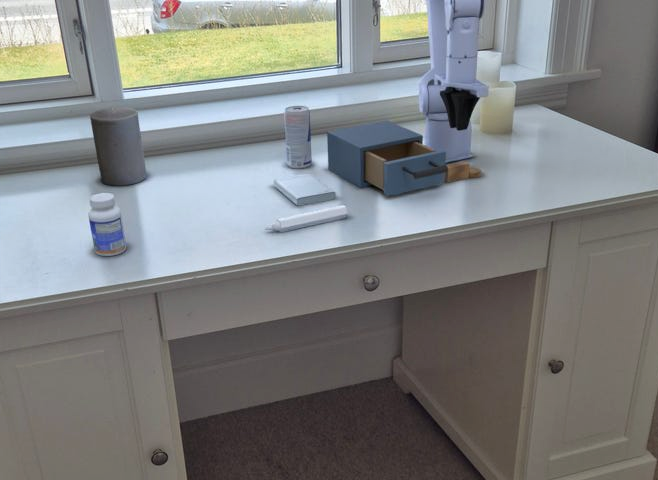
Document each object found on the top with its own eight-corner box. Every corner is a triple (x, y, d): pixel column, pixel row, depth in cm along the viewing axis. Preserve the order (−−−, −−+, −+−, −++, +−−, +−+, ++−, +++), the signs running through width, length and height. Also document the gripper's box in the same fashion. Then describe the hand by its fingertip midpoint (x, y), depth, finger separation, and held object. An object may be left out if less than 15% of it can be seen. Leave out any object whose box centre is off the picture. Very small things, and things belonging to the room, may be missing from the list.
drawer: (460, 190, 159) (462, 158, 156) (402, 204, 154) (402, 171, 151) (409, 166, 173) (410, 136, 169) (354, 178, 167) (353, 147, 164)
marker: (264, 237, 147) (344, 219, 152) (268, 235, 145) (348, 216, 151) (260, 223, 147) (340, 205, 152) (264, 221, 145) (345, 202, 150)
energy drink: (313, 160, 181) (310, 105, 174) (310, 168, 176) (308, 112, 170) (288, 161, 181) (285, 105, 175) (285, 168, 177) (282, 112, 170)
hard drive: (335, 191, 159) (310, 172, 169) (296, 198, 157) (273, 178, 166) (336, 199, 160) (311, 180, 170) (296, 206, 158) (273, 186, 167)
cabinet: (421, 174, 171) (422, 135, 166) (360, 187, 165) (360, 147, 161) (386, 157, 181) (387, 120, 177) (328, 169, 175) (327, 131, 171)
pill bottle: (97, 245, 145) (87, 192, 140) (128, 243, 145) (119, 190, 140) (92, 258, 140) (82, 203, 135) (125, 255, 140) (115, 201, 135)
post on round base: (449, 183, 165) (450, 169, 164) (439, 179, 168) (440, 164, 166) (484, 175, 168) (485, 161, 167) (474, 171, 171) (475, 157, 169)
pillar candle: (91, 183, 173) (78, 111, 165) (118, 169, 181) (106, 99, 173) (131, 188, 170) (119, 114, 162) (156, 173, 177) (146, 102, 170)
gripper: (422, 52, 159) (420, 123, 166) (468, 64, 148) (464, 139, 154) (452, 48, 162) (449, 118, 168) (499, 59, 150) (494, 134, 157)
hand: (458, 128), depth 162 cm, fingers closed
